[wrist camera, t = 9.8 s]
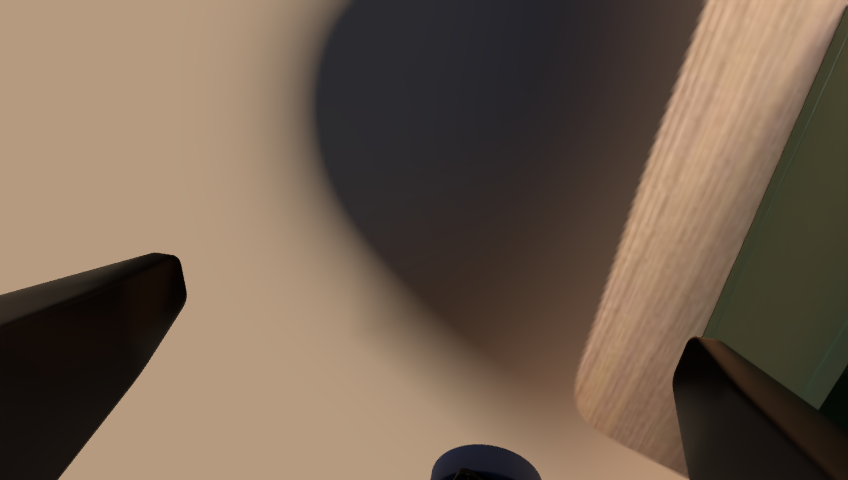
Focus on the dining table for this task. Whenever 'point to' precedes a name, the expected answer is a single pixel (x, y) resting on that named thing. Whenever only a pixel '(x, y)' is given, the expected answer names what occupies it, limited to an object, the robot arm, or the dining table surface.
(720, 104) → the dining table surface
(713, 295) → the dining table surface
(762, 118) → the dining table surface
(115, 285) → the robot arm
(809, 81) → the dining table surface
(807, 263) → the tea tin
